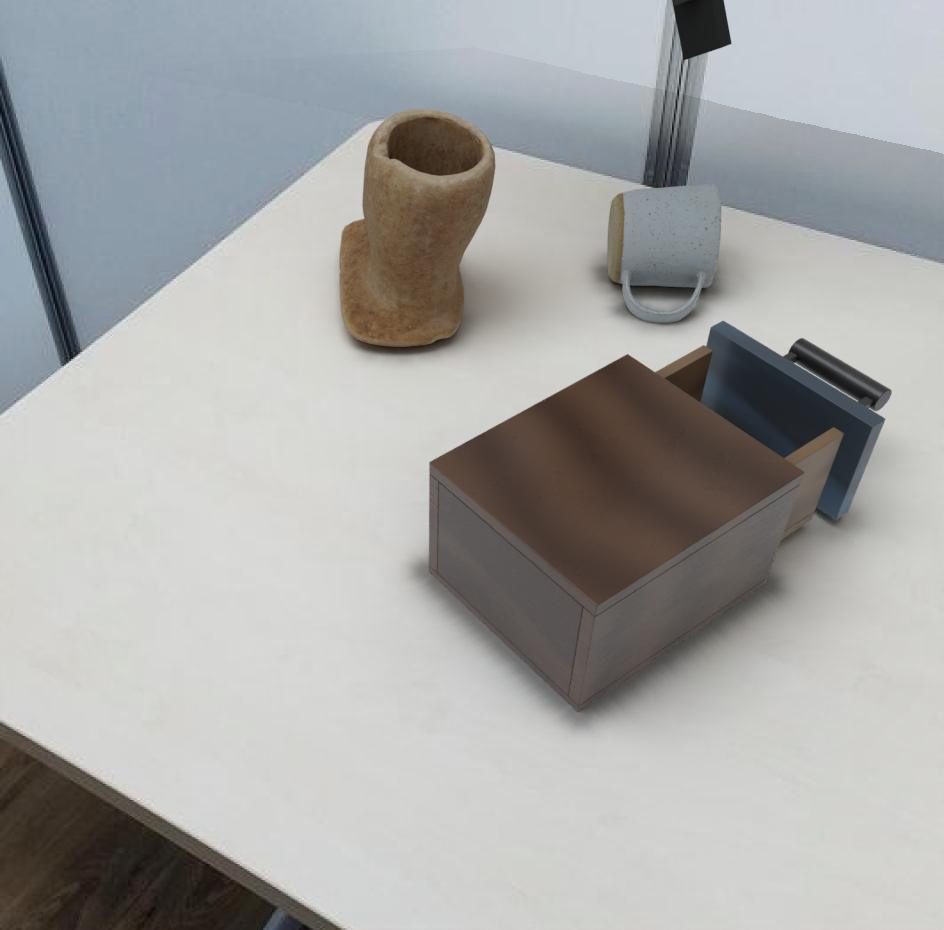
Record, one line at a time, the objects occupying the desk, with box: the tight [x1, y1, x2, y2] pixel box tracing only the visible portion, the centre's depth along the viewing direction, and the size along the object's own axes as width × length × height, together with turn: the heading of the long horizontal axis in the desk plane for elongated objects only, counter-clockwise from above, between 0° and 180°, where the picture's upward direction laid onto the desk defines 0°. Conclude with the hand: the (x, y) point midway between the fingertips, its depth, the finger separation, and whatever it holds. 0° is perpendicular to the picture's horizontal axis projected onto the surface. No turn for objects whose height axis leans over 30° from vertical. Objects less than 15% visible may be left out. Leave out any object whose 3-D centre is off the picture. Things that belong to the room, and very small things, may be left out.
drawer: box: [654, 320, 893, 541], centre depth 72 cm, size 20×13×8 cm, turn 125°
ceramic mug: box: [606, 183, 722, 324], centre depth 88 cm, size 11×8×8 cm
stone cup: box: [339, 108, 496, 348], centre depth 86 cm, size 15×12×15 cm
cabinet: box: [428, 353, 805, 713], centre depth 68 cm, size 16×14×10 cm
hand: (707, 51), depth 75 cm, fingers closed
